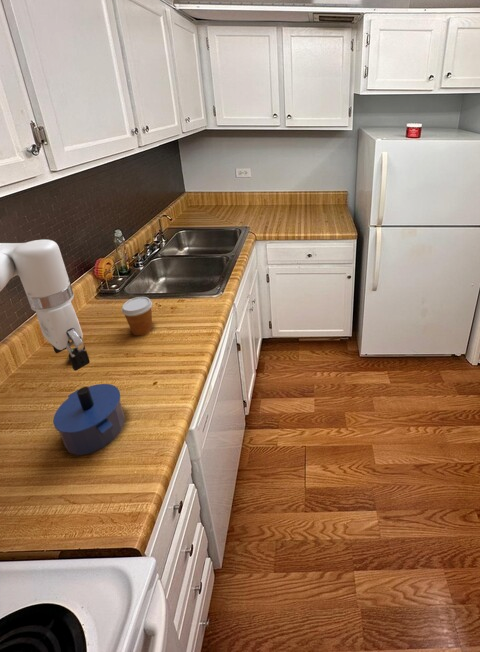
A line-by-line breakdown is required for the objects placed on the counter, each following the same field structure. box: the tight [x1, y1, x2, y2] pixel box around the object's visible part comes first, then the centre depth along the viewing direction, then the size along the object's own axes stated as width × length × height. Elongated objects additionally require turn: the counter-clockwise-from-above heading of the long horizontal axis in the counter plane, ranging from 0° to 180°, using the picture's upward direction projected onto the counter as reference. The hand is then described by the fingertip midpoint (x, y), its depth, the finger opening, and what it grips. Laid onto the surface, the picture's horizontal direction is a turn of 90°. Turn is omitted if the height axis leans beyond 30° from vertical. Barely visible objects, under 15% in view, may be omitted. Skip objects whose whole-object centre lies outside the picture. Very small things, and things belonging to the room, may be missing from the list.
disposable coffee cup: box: [121, 296, 153, 336], centre depth 117 cm, size 10×10×12 cm
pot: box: [58, 389, 126, 456], centre depth 82 cm, size 13×18×8 cm
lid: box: [52, 383, 121, 434], centre depth 80 cm, size 14×14×6 cm
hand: (72, 357), depth 78 cm, fingers open, 9 cm apart
